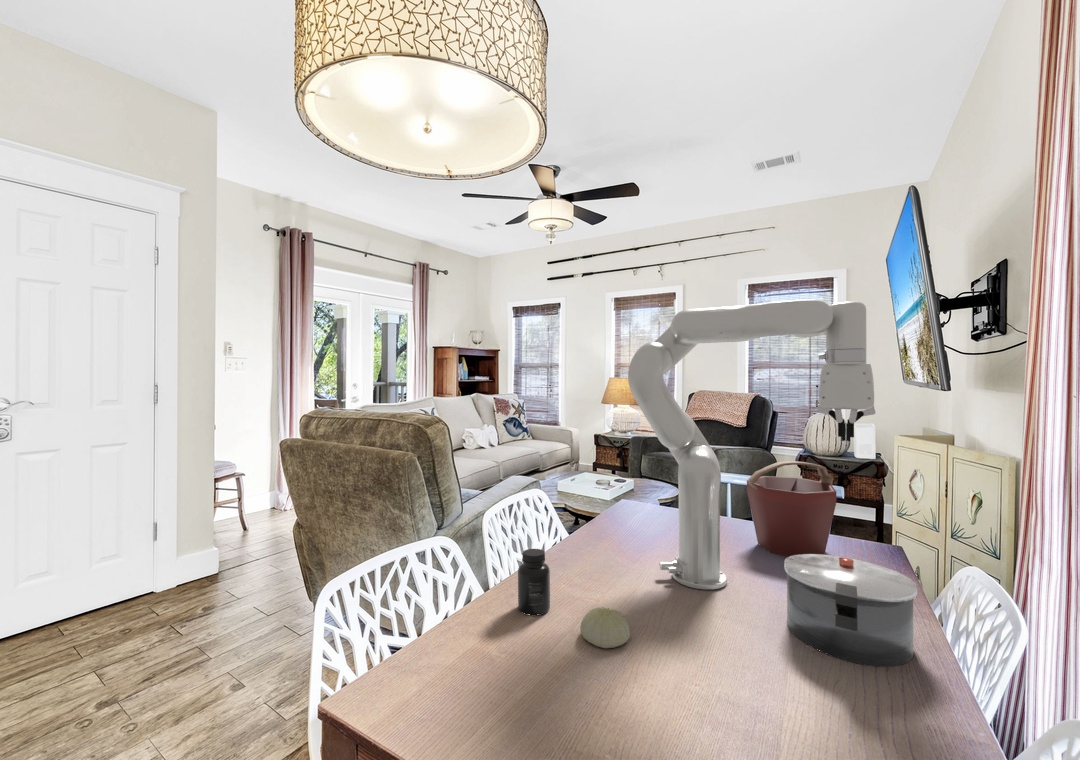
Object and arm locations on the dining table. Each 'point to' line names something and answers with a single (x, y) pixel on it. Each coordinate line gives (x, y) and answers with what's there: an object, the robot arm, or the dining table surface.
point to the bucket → (792, 510)
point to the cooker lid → (850, 579)
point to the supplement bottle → (533, 583)
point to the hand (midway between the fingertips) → (845, 440)
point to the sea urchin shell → (605, 628)
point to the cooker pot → (851, 626)
